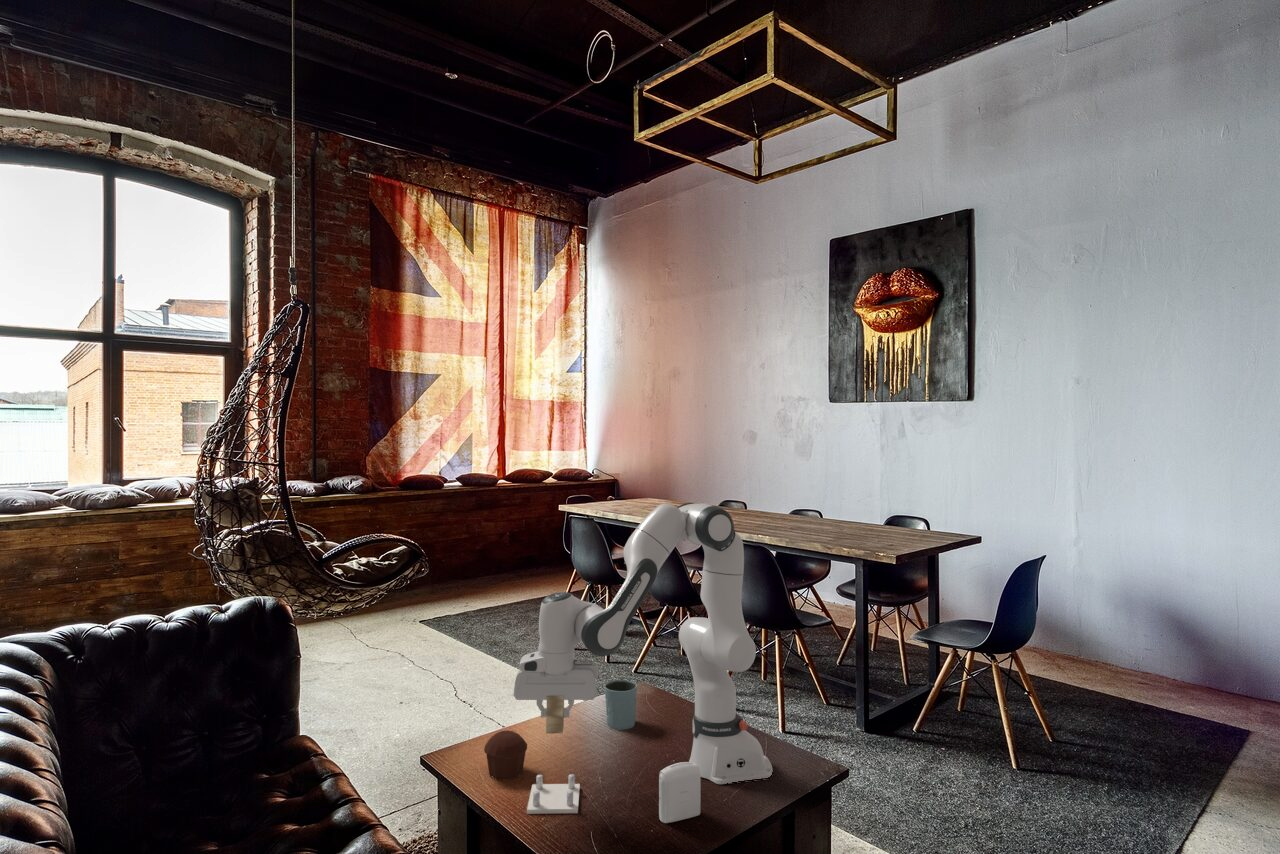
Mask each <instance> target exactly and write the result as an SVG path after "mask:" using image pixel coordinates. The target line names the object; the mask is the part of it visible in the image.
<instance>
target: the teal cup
mask: <svg viewBox="0 0 1280 854" xmlns="http://www.w3.org/2000/svg"><path fill="white" fill-rule="evenodd" d="M637 692H638V684H637V683H636V682H634V681H632V680H627V679H617V680H616V679H615V680H612V681H608V682H606V683H605V684H604V696H605V709H606V710H605V711H606V723H607V726H608V727H609V728H611V729H613V730H619V731H620V730H621V731H622V730H624V731H625V730H629V729H631V728H634V726H635V725H636V711H637V709H636V708H637V695H638V694H637Z"/></svg>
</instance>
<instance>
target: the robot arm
mask: <svg viewBox="0 0 1280 854" xmlns="http://www.w3.org/2000/svg"><path fill="white" fill-rule="evenodd" d="M734 524H735V523H734V520H733V518H732V516H731V514H730V513H729V512H728V511H727V510H725V509H724V508H722V507H720V506H717V505H716V506H715V505H713V504H708V503H703V502H702V503H695V502H688V503H687V502H686V503H683V504H681V505H678V506H675V505H673V504H670V503H662V504H659V505H657V506H656V507H655V508H654V509H653V510H652V511H650V513H648V514H647V516H646V517H645V518H643V520H642V521H641V522H640V523H639V524H638V525H637V526H636V528H635V530H634V531H633V532H632V533H631V535H630V536H629V537H628V539H627V541H626V543H625V545H624V547H623V552H622V553H623V559H624V563H625V565H626V571H627V572H626V573H627V574H626V578H625V580H624V581H623V584H622V585H621V587H620V588H619V590H618V592H617V593H616V594H615V596H614V598H613V599H612V601H611V603H610V604H609V605H608V606H607V607H606V608H603V607H601V606H599V605H598V604H596V603H593V602H590V601H585V600H582V599H580V598H578V597H576V596H574V595H573V594H572V593H570V592H567V591H562V592H561V591H560V592H559V591H558V592H553V593H550V594H549V595H547V596H545V597H544V598H542V601H541V604H540V608H539V617H538V634H539V635H538V636H539V643H538V649H537V651H534V652H530V653H527V654H523V656H522V657H520V661H519V669H518V671H517V674H516V676H515V679H514V685H513V686H514V687H513V697H514V698H515V700H516V701H517V700H518V701H536V706H537V707H538V709H539V711H540V718H542V719H543V718H545V719H546V711H547V707H544V705H543V702H544V701H547V696H563V700H564V701H567V707H564V710H563V718H564V719H565V718H568V719H569V718H570V711H571V710H572V708H573V706H574V704H575V701H580V700H581V701H593V700H594V699H595V698H596V697H597V693H598V690H597V688H598V687H597V677H598V676H599V665H598V664H597V663H596V662H594V661H593V660H592V659H591V660H590V659H587V660H582V659H575V647H576V646H575V645H576V644H578V643H579V644H580V643H581V644H583V645H584V646H585V648H586V649H587V650H588V651H589V652H590V653H591V654H592V655H594V656H597V657H607V656H610V655H612V654H614V653H615V652H617V651H618V650H619V649H620V648H621V646H622V645H623V643H624V640H625V639H626V638H625V637H626V634H627V631H628V628H629V625H630V623H631V621H632V619H633V617H634V616H635V615H636V613H637V611H638V610H639V608H640V606H641V605H642V603H643V602H644V600H645V598H646V597H647V595H648V593H649V592H650V590H651V588H652V587H653V584H654V583H655V580H656V579H657V576H658V573H659V571H660V569H661V568H662V567H663V565H664V564H665V562H666V560H667V559H668V558H669V556H670V555H671V553H672V552H673V550H674V549H675V547H676V546H677V545H678V544H679V543H681V542H682V541H686V542H688V543H691V544H692V545H696V546H697V545H698V546H702V549H703V553H704V559H703V565H702V577H701V587H700V594H699V595H700V599H701V602H702V604H703V606H704V607H705V610H706V612H707V613H706V614H707V616H708V618H707V617H701V616H698V617H697V616H693V617H689V618H687V619H686V620H685V621H684V622H683V623H682V624H681V626H680V628H679V631H678V641H679V644H680V646H681V647H682V649H683V650H684V652H685V655H686V657H687V660H688V662H689V667H690V671H691V674H692V678H693V685H694V712H693V713H692V714H693V716H692V734H693V741H692V747H691V753H690V757H689V761H688V762H692V763H696V764H697V765H698V766H699V769H700V778H704V779H707V780H709V781H711V782H713V783H715V784H716V785H725V784H726V785H727V783H728V784H733V783H732V782H737V783H739V782H738V781H744V780H752V779H761V778H768V777H770V776H771V775H772V772H774V771H773V766H772V765H773V764H772V763H771V761H770V759H769V758H768V757H767V756H766V755H764V751H763V748H762V745H761V743H760V742H759V740H758V739H757V738H756V736H754V735H752V734H751V733H750V732H748V731H747V729H748V724H747V722H746V721H745V720H744V719H743V717H742V715H740V713H738V712H737V705H736V704H737V690H736V689H737V688H736V685H735V683H734V681H733V679H732V677H731V676H730V674H729V672H733V673H735V672H736V673H742V672H743V673H744V672H746V671H747V670H748V669H750V667H752V665H753V664H754V661H755V659H756V654H757V648H756V644H755V642H754V640H753V638H752V637H751V635H750V633H749V631H748V628H747V626H746V622H745V618H744V614H743V607H742V600H743V599H742V597H743V582H744V581H743V579H744V568H745V550H744V541H743V539H742V538H741V536H740V535H739V534H737V533H736V531H735V525H734ZM772 776H773V775H772Z"/></svg>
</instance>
